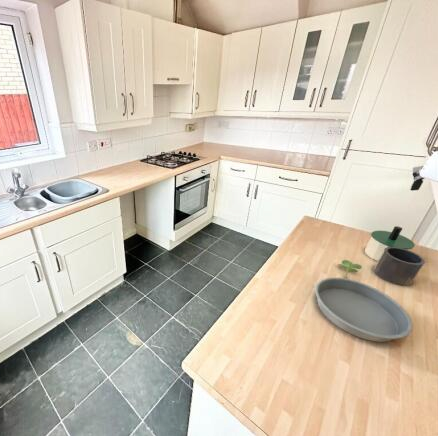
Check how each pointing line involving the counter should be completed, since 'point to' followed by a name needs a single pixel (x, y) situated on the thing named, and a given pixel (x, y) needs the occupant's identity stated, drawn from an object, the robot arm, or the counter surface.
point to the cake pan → (362, 310)
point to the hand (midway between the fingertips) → (427, 194)
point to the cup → (398, 265)
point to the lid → (393, 238)
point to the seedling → (350, 266)
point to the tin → (375, 249)
